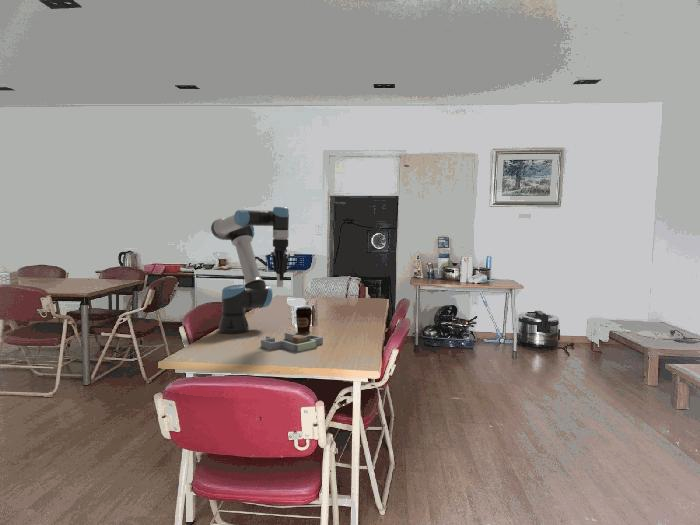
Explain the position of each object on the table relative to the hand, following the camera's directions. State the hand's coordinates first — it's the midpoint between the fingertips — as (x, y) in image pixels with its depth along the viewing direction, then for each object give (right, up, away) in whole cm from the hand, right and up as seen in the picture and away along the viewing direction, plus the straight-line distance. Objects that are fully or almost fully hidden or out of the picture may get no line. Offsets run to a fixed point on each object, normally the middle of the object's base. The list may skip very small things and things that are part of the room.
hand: (280, 286), depth 235 cm
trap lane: (+7, -26, -14) cm, 30 cm away
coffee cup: (+11, -24, +10) cm, 28 cm away
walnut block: (+12, -27, -19) cm, 35 cm away
